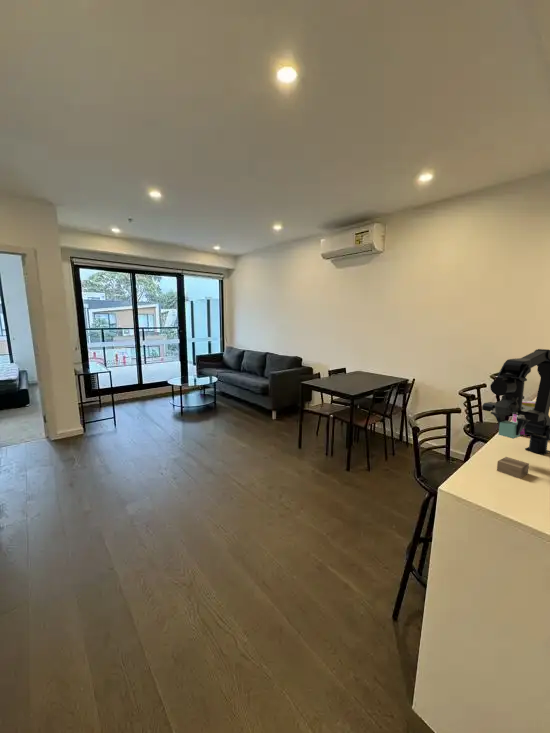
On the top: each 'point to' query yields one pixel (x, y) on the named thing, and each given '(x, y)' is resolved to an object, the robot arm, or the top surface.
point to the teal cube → (508, 429)
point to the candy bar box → (526, 407)
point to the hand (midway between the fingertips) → (509, 432)
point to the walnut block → (513, 467)
